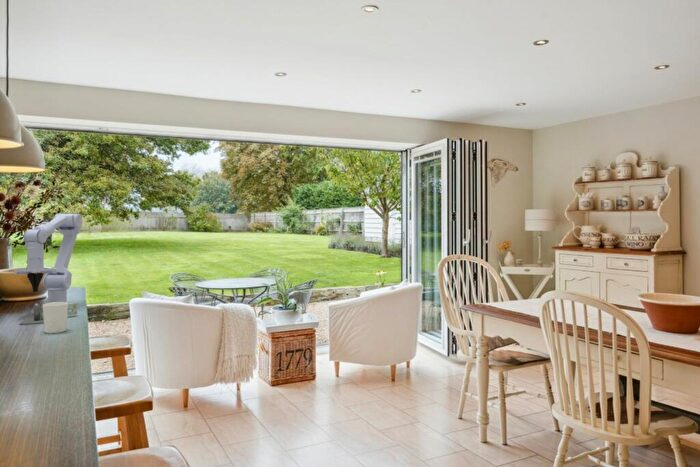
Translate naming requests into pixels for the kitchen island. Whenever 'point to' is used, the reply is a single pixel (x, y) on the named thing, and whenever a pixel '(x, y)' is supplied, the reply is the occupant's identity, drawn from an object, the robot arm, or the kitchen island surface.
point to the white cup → (55, 316)
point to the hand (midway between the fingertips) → (35, 291)
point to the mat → (31, 320)
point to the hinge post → (36, 312)
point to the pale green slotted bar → (70, 305)
